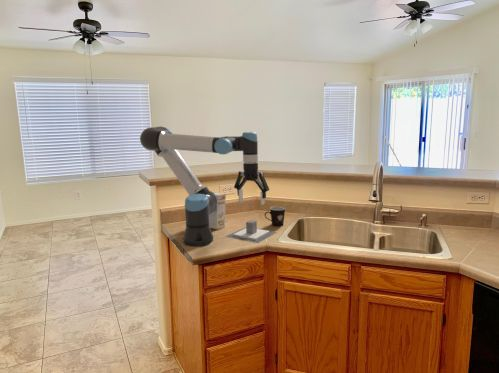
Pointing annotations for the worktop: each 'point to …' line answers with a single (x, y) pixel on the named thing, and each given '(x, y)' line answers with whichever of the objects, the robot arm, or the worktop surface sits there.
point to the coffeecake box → (218, 213)
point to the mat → (250, 239)
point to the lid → (251, 231)
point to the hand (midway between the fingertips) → (251, 203)
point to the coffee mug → (277, 215)
